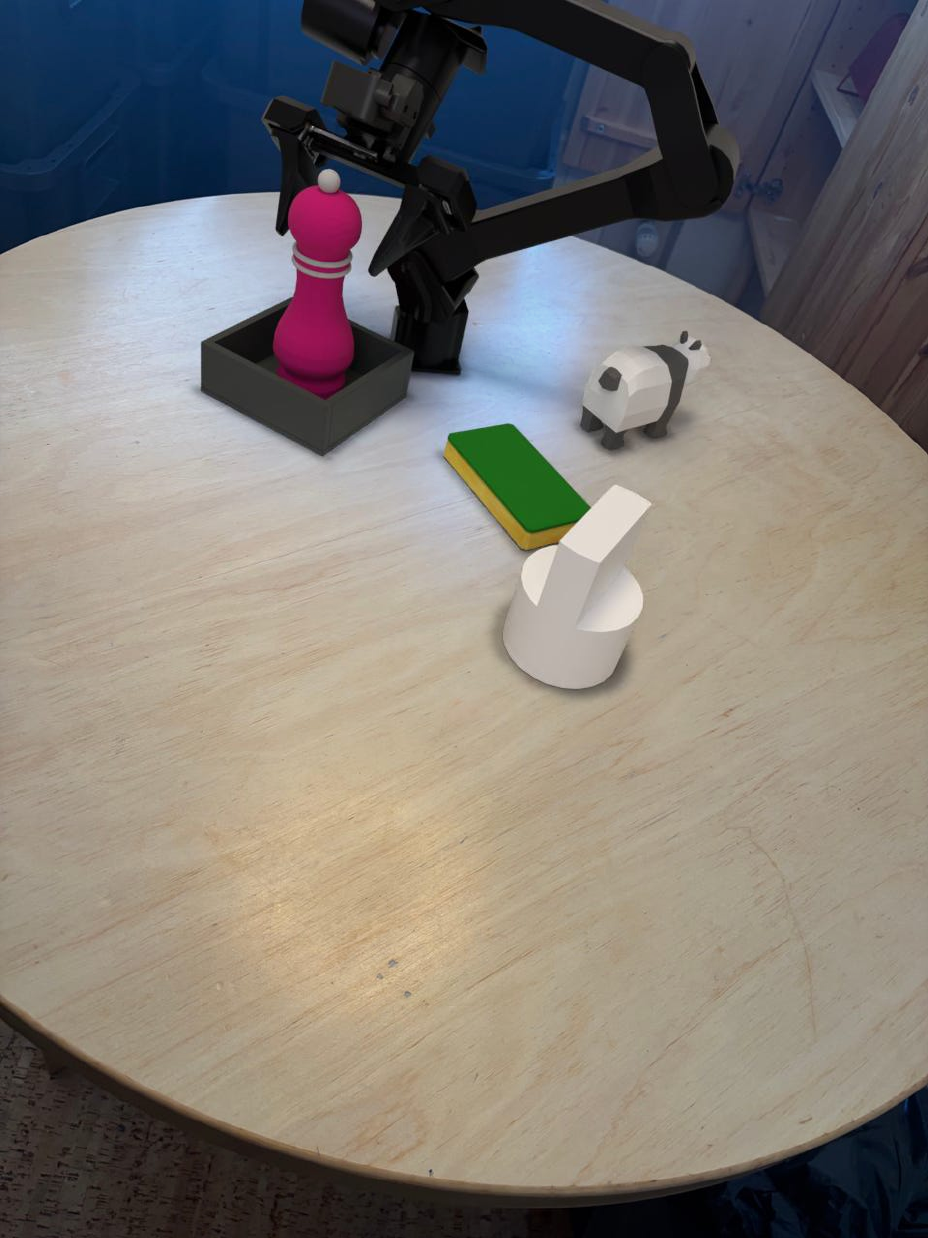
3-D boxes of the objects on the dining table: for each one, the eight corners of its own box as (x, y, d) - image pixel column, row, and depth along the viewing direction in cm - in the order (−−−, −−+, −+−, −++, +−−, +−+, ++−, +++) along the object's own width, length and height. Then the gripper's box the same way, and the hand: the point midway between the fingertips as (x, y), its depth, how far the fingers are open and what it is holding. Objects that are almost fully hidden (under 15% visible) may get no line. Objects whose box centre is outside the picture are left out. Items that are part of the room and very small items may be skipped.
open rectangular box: (294, 340, 95) (297, 293, 92) (406, 396, 92) (414, 350, 88) (200, 391, 86) (200, 341, 82) (322, 456, 83) (327, 407, 79)
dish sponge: (506, 443, 90) (512, 421, 88) (589, 535, 82) (598, 513, 80) (441, 454, 86) (446, 432, 84) (522, 552, 79) (529, 529, 77)
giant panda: (603, 457, 91) (634, 369, 84) (566, 425, 94) (594, 338, 87) (703, 426, 99) (739, 343, 92) (667, 397, 101) (699, 315, 95)
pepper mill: (336, 419, 86) (362, 197, 72) (259, 398, 86) (271, 172, 72) (357, 380, 91) (385, 166, 77) (284, 360, 91) (299, 143, 77)
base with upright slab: (586, 709, 68) (640, 587, 59) (480, 646, 70) (518, 521, 62) (636, 640, 74) (691, 521, 65) (537, 585, 76) (578, 463, 68)
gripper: (281, -19, 74) (189, 160, 74) (492, 60, 70) (394, 249, 70) (328, 74, 85) (247, 230, 85) (512, 147, 81) (428, 311, 81)
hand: (324, 253), depth 80 cm, fingers open, 9 cm apart
